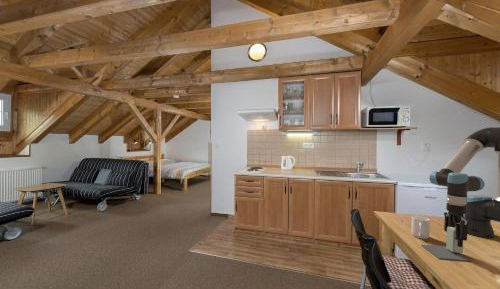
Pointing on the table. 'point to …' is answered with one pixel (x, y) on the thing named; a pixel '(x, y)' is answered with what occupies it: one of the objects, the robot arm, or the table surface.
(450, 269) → the table surface
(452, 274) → the table surface
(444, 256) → the mat
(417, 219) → the mug
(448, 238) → the block
